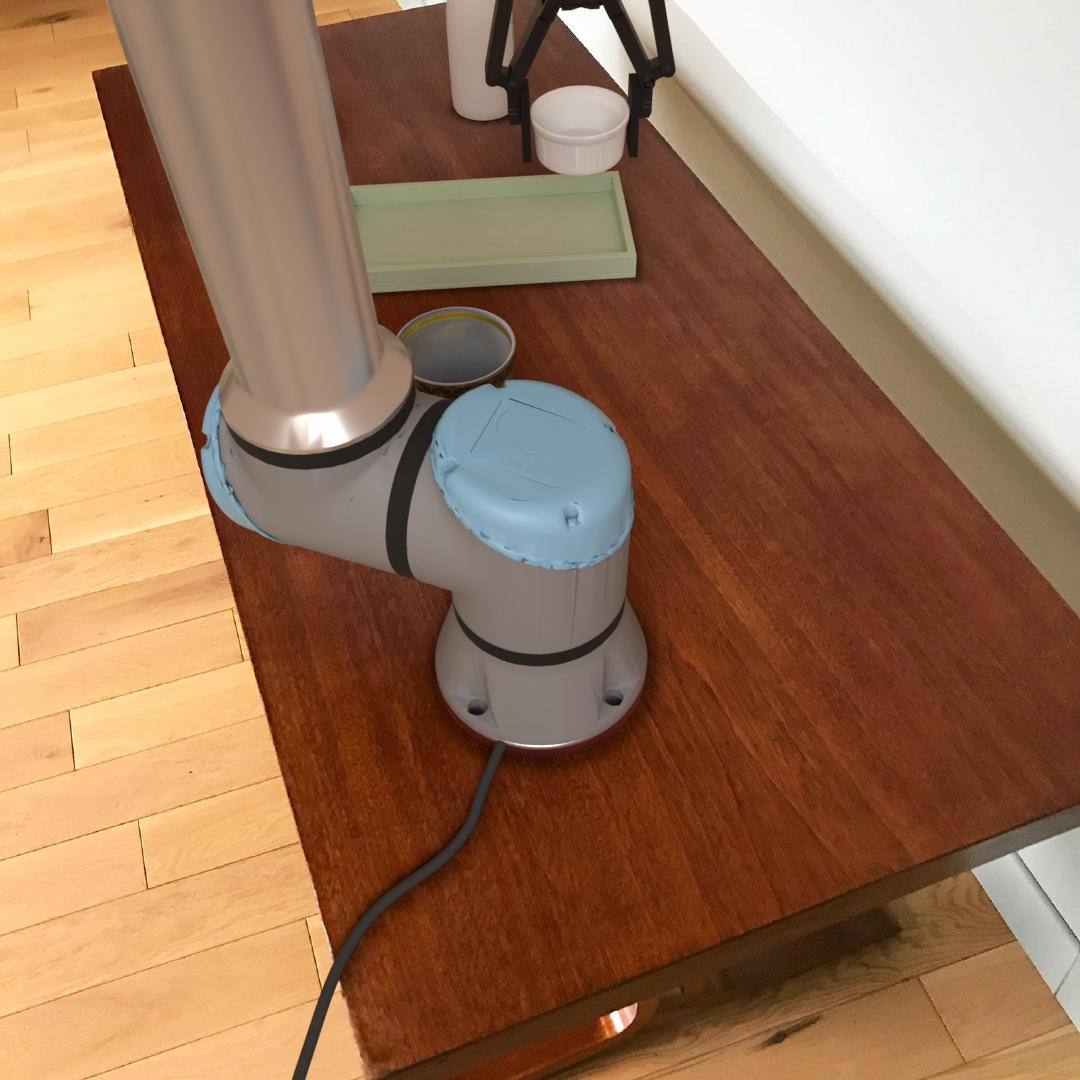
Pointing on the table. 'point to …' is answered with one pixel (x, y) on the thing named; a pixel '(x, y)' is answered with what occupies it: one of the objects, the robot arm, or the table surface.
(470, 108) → the milk bottle
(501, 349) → the ceramic cup
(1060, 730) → the table surface
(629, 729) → the table surface
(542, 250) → the tray
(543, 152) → the ramekin
